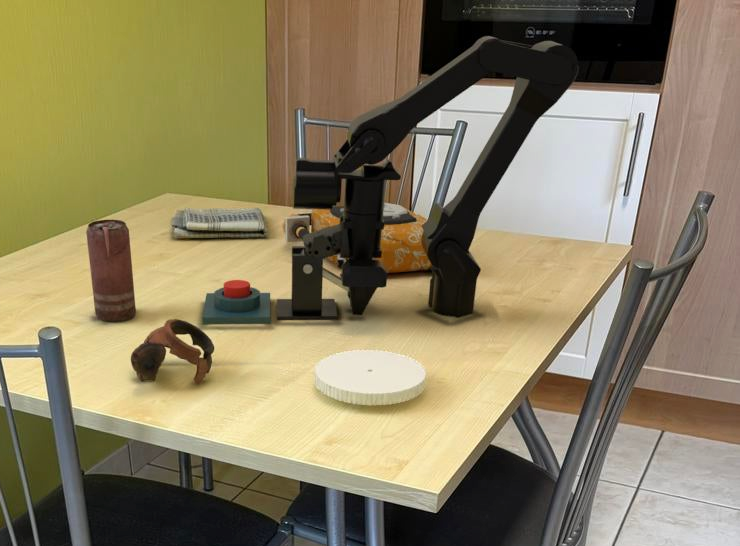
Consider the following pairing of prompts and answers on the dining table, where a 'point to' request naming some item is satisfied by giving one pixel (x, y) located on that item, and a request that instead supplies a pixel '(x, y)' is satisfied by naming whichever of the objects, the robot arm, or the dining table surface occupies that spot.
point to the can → (111, 270)
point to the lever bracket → (306, 291)
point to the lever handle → (333, 278)
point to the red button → (236, 289)
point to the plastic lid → (370, 377)
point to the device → (396, 237)
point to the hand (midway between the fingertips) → (355, 314)
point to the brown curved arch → (172, 350)
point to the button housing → (236, 308)
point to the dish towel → (219, 223)
